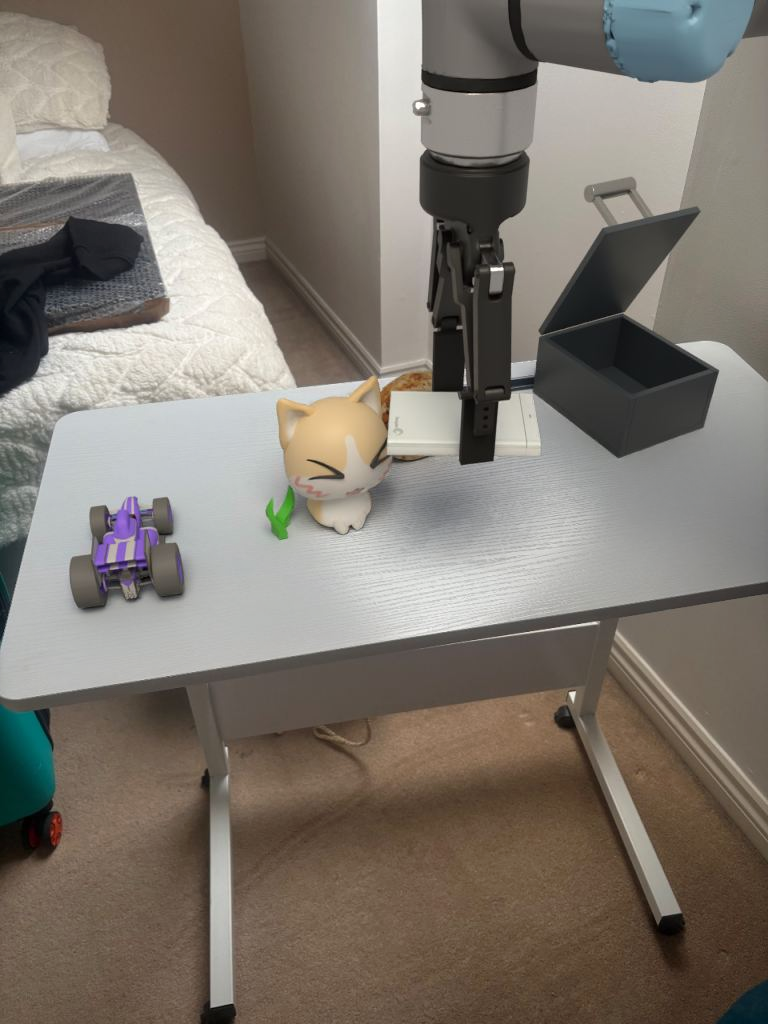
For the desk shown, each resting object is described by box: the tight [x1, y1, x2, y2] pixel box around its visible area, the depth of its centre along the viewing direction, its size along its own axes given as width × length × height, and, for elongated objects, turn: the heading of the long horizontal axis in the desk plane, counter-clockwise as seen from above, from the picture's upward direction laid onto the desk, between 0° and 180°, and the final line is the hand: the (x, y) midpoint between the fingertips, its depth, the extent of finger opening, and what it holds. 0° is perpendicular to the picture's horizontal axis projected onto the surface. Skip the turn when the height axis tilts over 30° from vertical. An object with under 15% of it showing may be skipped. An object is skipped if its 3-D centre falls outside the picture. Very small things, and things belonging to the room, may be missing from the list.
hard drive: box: [387, 391, 542, 458], centre depth 70 cm, size 2×8×12 cm
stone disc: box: [380, 370, 432, 461], centre depth 93 cm, size 10×4×10 cm, turn 116°
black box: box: [532, 312, 720, 459], centre depth 100 cm, size 17×13×8 cm
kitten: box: [264, 375, 393, 540], centre depth 82 cm, size 15×10×15 cm, turn 115°
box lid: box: [538, 176, 701, 336], centre depth 97 cm, size 18×13×8 cm
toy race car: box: [68, 495, 185, 609], centre depth 80 cm, size 10×15×6 cm, turn 12°
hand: (461, 427), depth 71 cm, fingers closed on hard drive, 9 cm apart
